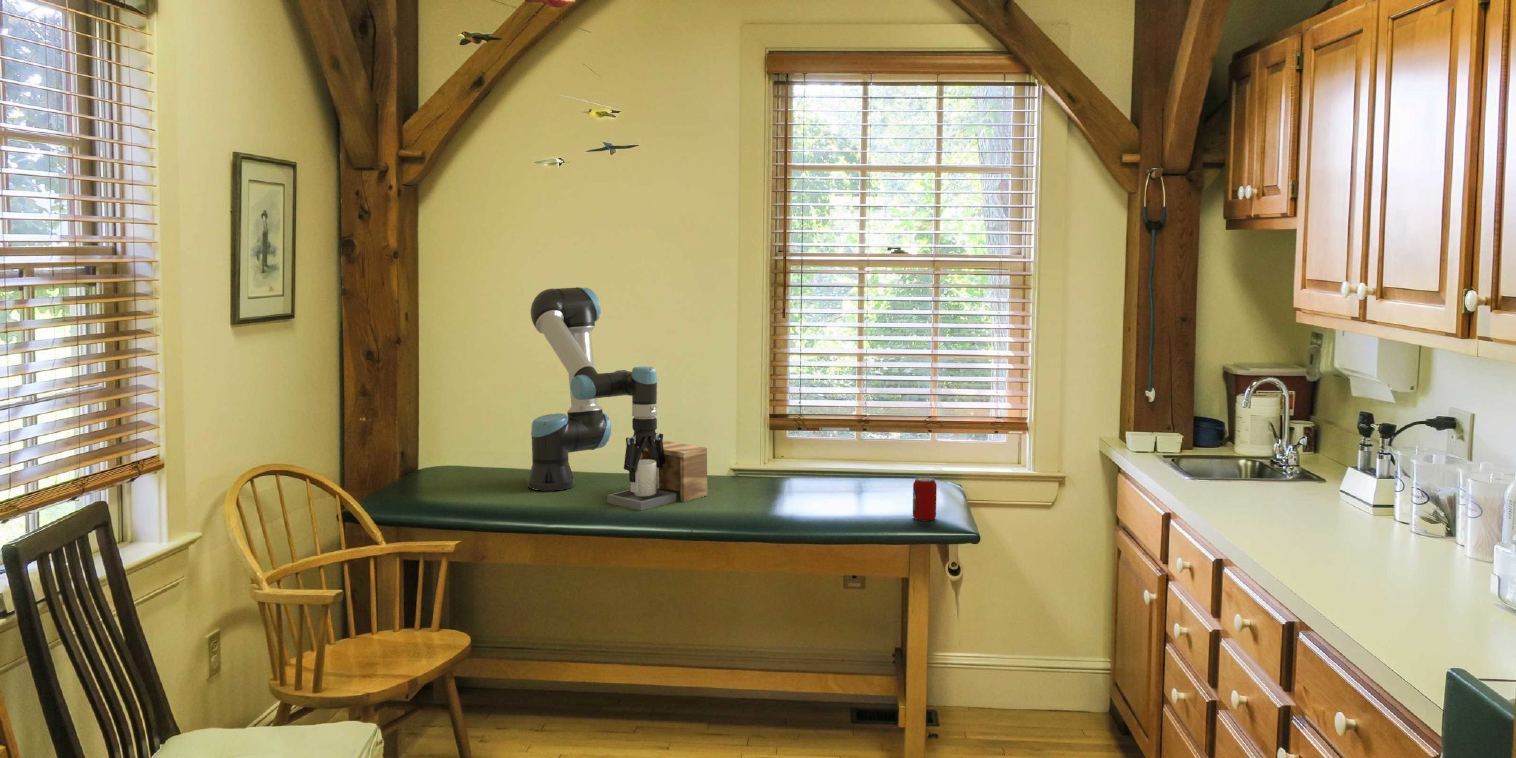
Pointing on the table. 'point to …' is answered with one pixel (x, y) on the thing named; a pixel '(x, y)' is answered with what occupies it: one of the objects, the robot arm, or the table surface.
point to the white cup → (646, 477)
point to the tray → (641, 499)
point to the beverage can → (924, 498)
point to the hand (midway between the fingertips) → (645, 489)
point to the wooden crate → (683, 469)
